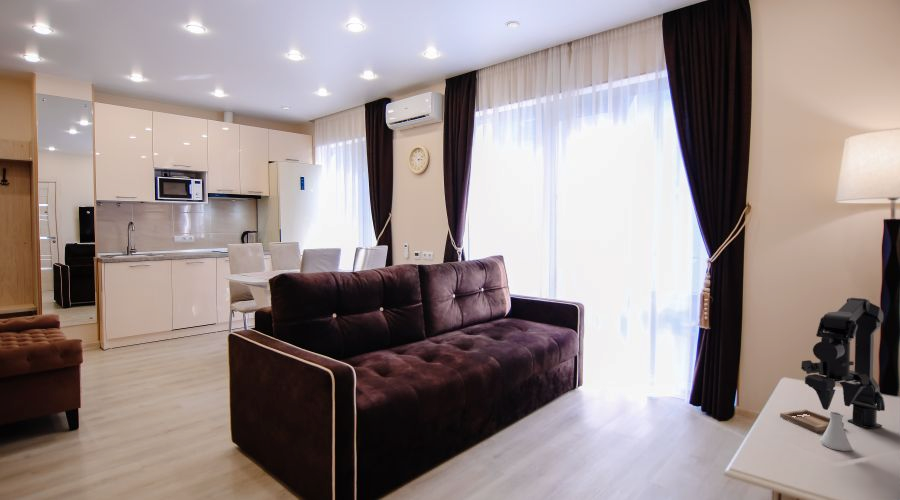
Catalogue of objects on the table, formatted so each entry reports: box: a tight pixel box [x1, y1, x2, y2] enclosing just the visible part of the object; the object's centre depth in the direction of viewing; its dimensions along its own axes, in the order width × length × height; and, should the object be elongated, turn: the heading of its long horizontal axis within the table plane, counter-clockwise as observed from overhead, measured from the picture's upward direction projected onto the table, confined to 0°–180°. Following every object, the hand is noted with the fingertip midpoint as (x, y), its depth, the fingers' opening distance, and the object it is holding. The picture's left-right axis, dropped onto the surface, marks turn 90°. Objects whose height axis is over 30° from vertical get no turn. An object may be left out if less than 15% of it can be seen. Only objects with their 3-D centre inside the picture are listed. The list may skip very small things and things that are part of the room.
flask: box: [819, 411, 853, 452], centre depth 135 cm, size 7×7×10 cm
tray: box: [779, 409, 844, 434], centre depth 151 cm, size 12×12×2 cm
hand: (836, 407), depth 135 cm, fingers open, 9 cm apart
